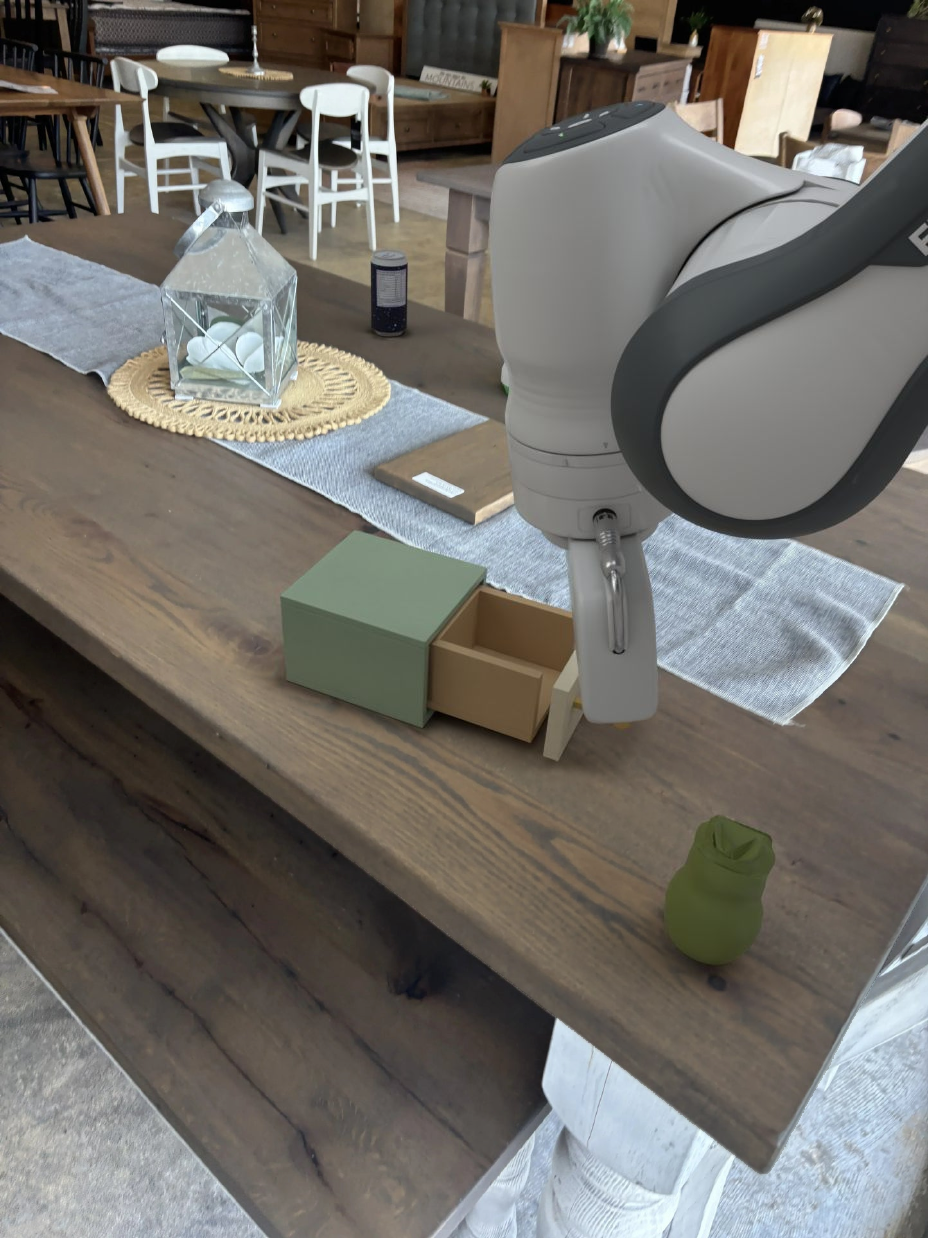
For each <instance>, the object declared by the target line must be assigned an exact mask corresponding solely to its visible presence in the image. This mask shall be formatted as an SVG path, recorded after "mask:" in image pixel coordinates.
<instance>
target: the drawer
mask: <svg viewBox="0 0 928 1238" xmlns="http://www.w3.org/2000/svg"><path fill="white" fill-rule="evenodd" d="M427 707H428V708H430V709H433V710H435V712H439V713H442V714H445V715H448V716H451V717H454V718H457V719H459V720H461V721H462V720H463V721H466V722H468V723H472V724H474V725H477V726H480V727H483V728H485V729H489V730H490V731H491V730H492V731H495V732H498V733H500V734H503V735H506V736H509V737H511V738H514V739H518V740H520V741H523V742H526V743H529V744H531V743H532V741H533V740H534V738H535V737H536V735H537V733H538V731H539V730H540V728H541V726H542V724H543V723H544V722H545V719H546V717H547V716H548V718H547V726H546V733H545V740H544V747H543V753H542V756H543V757H544V758H547V759H550V760H554V761H557V762H558V761H559V760H560V759H561V757H562V754H563V753H564V752H565V749H566V747H567V745H568V743H569V742H570V739H571V738H572V735H573V734H574V732H575V730H576V728H577V726H578V724H579V722H580V721H581V719H582V717H583V715H584V712H583V709H582V703H581V694H580V684H579V675H578V665H577V656H576V648H575V637H574V628H573V619H572V610H571V611H570V610H568V609H567V610H566V609H563V608H560V607H557V606H553V605H550V604H546V603H543V602H540V601H536V600H534V599H533V600H532V599H531V598H530V599H529V598H526V597H523V596H519V595H515V594H513V593H512V594H511V593H509V592H506V591H502V590H499V589H495V588H492V587H488V586H486V587H485V586H482V585H479V584H478V586H477V587H476V588H475V589H474V591H473V592H472V593H471V594H470V595H469V597H468V598H467V599H466V600H465V601H464V603H463V604H462V605H461V606H460V608H459V609H458V610H457V611H456V612H455V614H454V615H453V616H452V617H451V618H450V620H449V621H448V622H447V623H446V624H445V626H444V627H443V628H442V629H441V631H440V632H439V633H438V634H437V635H436V637H435V638H434V639H433V640H432V641H431V643H430V644H429V659H428V685H427ZM611 724H612V726H613V727H614V728H616V729H618V730H626V729H628V728H629V727H630V725H631V724H632V722H623V723H611Z"/></svg>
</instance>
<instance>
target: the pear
mask: <svg viewBox="0 0 928 1238" xmlns="http://www.w3.org/2000/svg"><path fill="white" fill-rule="evenodd" d="M775 853H776V852H775V851H774V848H773V839H772V836H771V835H769V834H768V833H766V832H763V831H761V830H759V829H756V828H754V827H751V826H749V825H746V824H744V823H742V822H738V821H736V820H733V819H731V818H728V817H726V816H724V815H722V814H717V815H714V816H712V817H711V818H709V820H708V821H705V822H702V823H700V825H699V826H698V828H697V829H696V831H695V834H694V839H693V843H692V845H691V847H690V849H689V850H688V853H687V856H686V860H685V862H684V865H683V866H682V867H680V868H679V869H678V870H677V871H676V872H675V873H674V874H673V876H672V877H671V879H670V881H669V883H668V885H667V888H666V891H665V895H664V902H663V918H664V925H665V928H666V931H667V933H668V935H669V937H670V940H671V941H672V943H673V944H674V945H675V947H677V949H678V950H680V951H681V952H682V953H683V954H684V955H686V956H687V957H689V958H690V959H692V960H694V961H697V962H699V963H702V964H707V965H713V966H714V965H715V966H716V965H720V966H721V965H726V964H728V963H731V962H734V961H736V960H737V959H739V958H740V957H742V956H743V955H744V954H745V953H746V952H747V951H748V950H749V949H750V948H751V947H752V945H754V942H755V940H756V939H757V937H758V935H759V933H760V931H761V928H762V923H763V919H764V906H763V901H762V896H763V895H764V890H765V888H766V884H767V879H768V876H769V874H770V873H771V871H772V870H773V868H774V866H775V863H776V854H775Z"/></svg>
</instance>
